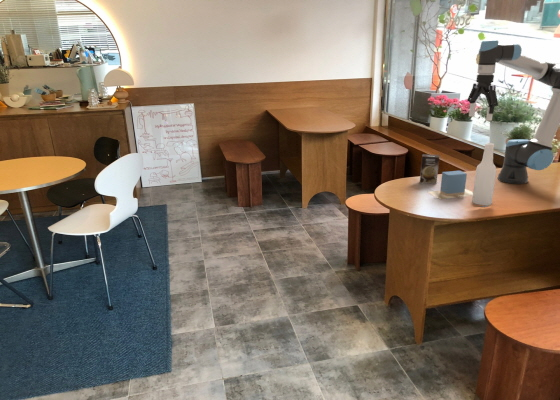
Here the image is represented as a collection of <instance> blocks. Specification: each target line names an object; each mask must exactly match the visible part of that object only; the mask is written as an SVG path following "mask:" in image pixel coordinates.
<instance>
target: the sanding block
mask: <svg viewBox="0 0 560 400" xmlns="http://www.w3.org/2000/svg"><path fill="white" fill-rule="evenodd" d="M467 175H468V174H467V172H464V171H462V170H453V171H442V172H441V180H440V181H441V183H440V190H439V191H440V193H442V194H444V195H445V196H454V195H463V194H464V193H465V188H466V184H467Z"/></svg>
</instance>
